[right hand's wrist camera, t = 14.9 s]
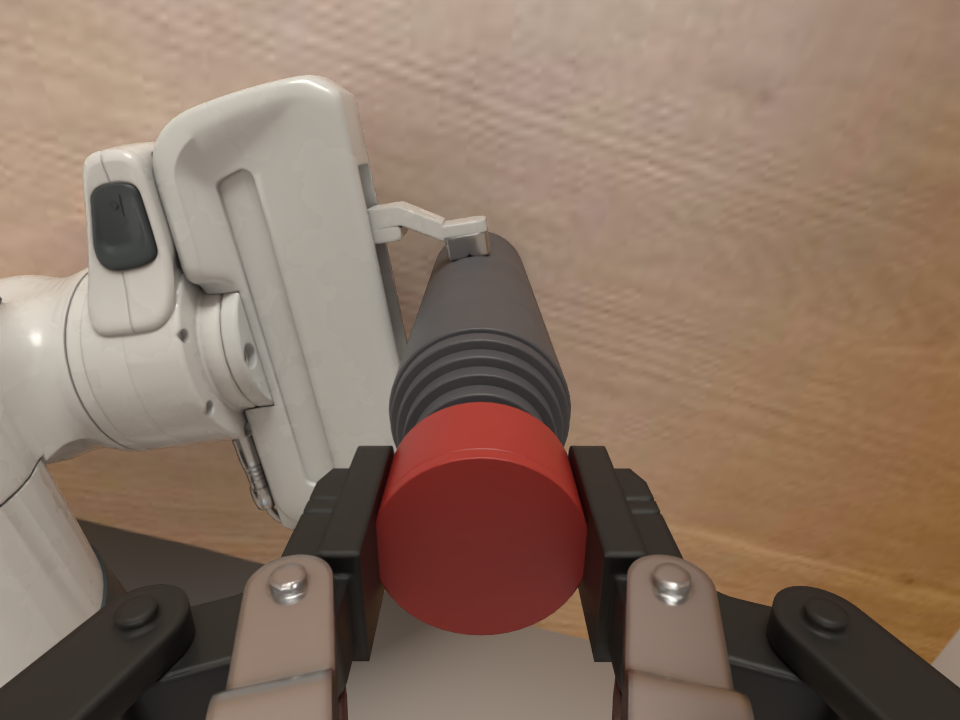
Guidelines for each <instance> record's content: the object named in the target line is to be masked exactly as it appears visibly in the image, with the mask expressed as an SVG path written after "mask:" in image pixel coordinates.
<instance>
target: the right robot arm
mask: <svg viewBox="0 0 960 720" xmlns="http://www.w3.org/2000/svg"><path fill="white" fill-rule="evenodd" d="M393 457H394V449H393V446H358V448H357V450H356V452H355V455H354V457H353V460H352V462H351V465H350V467H349V468H333V469H332V470H331V471H329V472H328V473H327V474H326V475H325V476H323V477H322V478H321V479H320V480H319V481H317V483H316V485H315V487H314V489H313V491H312V493H311V496H310V500H309V501H308V502H307V504H306V506H305V508H304V510H303V514H301V517H300V519H299V521H298V523H297V525H296V527H295V529H294V531H293V533H292V535H291V538H290V540H289V542H288V544H287V546H286V548H285V550H284V552H283V554H282V556H281V558H279V559H276V560H274V561H271V562H269V563H268V564H266V565H264V566H262V567H261V568H260V569H258V570H257V571H256V572H255V573H254V574H253V575H252V576H251V577H250V579H249V580H248V581H247V583H246V585H245V588H244V591H243V593H240V594H238V595H235V596H232V597H228V598H225V599H221V600H216V601H212V602H208V603H204V604H200V605H195V606H191V607H190V603H189V599H188V596H187V594H186V593H185V592H184V591H183V590H182V589H180V588H178V587H176V586H172V585H164V584H160V585H151V586H145V587H141V588H138V589H135V590H132V591H130V592H127V593H125V594H123V595H121V596H119V597H117V598H116V599H114V600H112V601H111V602H109V603H108V604H107V605H105V606H104V607H102V608H101V609H100V610H99V611H97V612H96V613H95V614H94V615H92V616H91V617H90V618H89V619H87V620H86V621H85V622H83V623H82V624H81V625H80V626H78V627H77V628H76V629H75V630H73V631H72V632H71V633H69V634H68V635H67V636H66V637H64V638H63V639H62V640H61V641H59V642H58V643H57V644H56V645H54V646H53V647H52V648H50V649H49V650H48V651H47V652H45V653H44V654H43V655H42V656H40V657H39V658H38V659H36V660H35V661H34V662H33V663H31V664H30V665H29V666H28V667H26V668H25V669H24V670H22V671H21V672H20V673H19V674H17V675H16V676H15V677H14V678H12V679H11V680H10V681H9V682H7V683H6V684H5V685H3V686H2V687H1V688H0V720H348V710H347V693H346V683H347V680H348V676H349V672H350V668H351V664H352V661H369V660H370V655H371V650H372V646H373V640H374V636H375V631H376V627H377V622H378V617H379V612H380V608H381V603H382V598H383V594H384V589H385V588H384V587H383V585H382V583H381V581H380V570H379V558H378V545H377V533H376V518H377V515H378V511H379V507H380V504H381V500H382V496H383V493H384V489H385V486H386V482H387V478H388V475H389V471H390V468H391V464H392V460H393ZM568 458H569V461H570V465H571V468H572V472H573V476H574V479H575V483H576V487H577V490H578V494H579V497H580V501H581V505H582V508H583V512H584V516H585V519H586V523H587V537H586V549H585V561H584V573H583V579H582V581H581V583H580V585H579V586H578V589H579V594H580V598H581V603H582V607H583V612H584V616H585V621H586V626H587V630H588V635H589V639H590V644H591V648H592V653H593V657H594V662H612V665H613V669H614V673H615V684H614V692H613V710H612V720H960V688H959V687H958V686H957V685H955V684H954V683H953V682H951V681H950V680H949V679H948V678H946V677H945V676H944V675H943V674H941V673H940V672H939V671H938V670H936V669H935V668H934V667H932V666H931V665H930V664H929V663H927V662H926V661H925V660H924V659H922V658H921V657H920V656H918V655H917V654H916V653H915V652H913V651H912V650H911V649H910V648H908V647H907V646H906V645H905V644H903V643H902V642H901V641H899V640H898V639H897V638H896V637H894V636H893V635H892V634H891V633H889V632H888V631H887V630H885V629H884V628H883V627H882V626H880V625H879V624H878V623H877V622H875V621H874V620H873V619H871V618H870V617H869V616H868V615H866V614H865V613H864V612H863V611H861V610H860V609H859V608H857V607H856V606H855V605H853V604H852V603H850V602H849V601H847V600H845V599H844V598H842V597H840V596H838V595H836V594H833V593H831V592H828V591H825V590H822V589H818V588H814V587H808V586H793V587H788V588H785V589H783V590H781V591H780V592H778V593H777V595H776V596H775V597H774V601H773V605H772V607H770V606H766V605H762V604H757V603H753V602H749V601H745V600H741V599H737V598H733V597H730V596H727V595H725V594H722V593H720V592H718V591H716V588H715V585H714V583H713V581H712V580H711V579H710V577H709V576H708V575H707V574H706V573H705V572H704V571H703V570H702V569H700V568H699V567H698V566H696V565H694V564H692V563H691V562H689V561H686V560H684V559H683V557H682V555H681V553H680V551H679V549H678V547H677V545H676V543H675V541H674V539H673V537H672V535H671V533H670V530H669V528H668V526H667V524H666V522H665V520H664V518H663V516H662V514H660V510H659V508H658V506H657V504H656V502H655V501H654V498H653V495H652V493H651V491H650V489H649V487H648V485H647V483H646V482H645V481H644V480H643V479H642V478H640V477H639V476H638V475H637V474H636V473H634V472H633V471H632V470H631V469H614V467H613V465H612V462H611V460H610V457H609V455H608V453H607V450H606V448H605V447H604V446H570V448H569V454H568Z"/></svg>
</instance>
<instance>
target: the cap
mask: <svg viewBox="0 0 960 720" xmlns="http://www.w3.org/2000/svg"><path fill="white" fill-rule="evenodd" d="M376 533H377V545H378V558H379V570H380V581H381V583H382V585H383V587H384V588H385V590H386V591H387V592H388V594H389V595H390V596H391V597H392V599H393V600H394V601H395V602H396V603H397V604H398V605H399V606H400V607H402V608H403V609H404V610H405V611H407V612H408V613H409V614H411V615H412V616H414V617H415V618H417V619H419V620H421V621H423V622H425V623H427V624H429V625H431V626H434V627H437V628H439V629H442V630H446V631H450V632H454V633H460V634H467V635H495V634H502V633H508V632H512V631H516V630H520V629H522V628H525V627H528V626H531V625H533V624H535V623H537V622H539V621H541V620H543V619H545V618H546V617H548V616H549V615H551V614H552V613H554V612H555V611H556V610H558V609H559V608H560V607H561V606H562V605H564V604H565V603H566V601H567V600H568V599H569V598H570V597H571V596H572V595H573V593H574V592H575V590H576V589H577V588H578V586H579V585H580V583H581V581H582V579H583V573H584V561H585V549H586V537H587V523H586V519H585V516H584V512H583V508H582V505H581V501H580V497H579V494H578V490H577V487H576V483H575V479H574V476H573V472H572V468H571V465H570V461H569V458H568V455H567V453H566V451H565V449H564V447H563V445H562V443H561V442H560V441H559V439H558V438H557V436H556V435H555V434H554V433H553V432H552V431H551V430H550V429H549V428H548V427H547V426H546V425H545V424H543V423H542V422H541V421H540V420H538V419H537V418H535V417H533V416H532V415H530V414H528V413H526V412H524V411H522V410H519V409H517V408H514V407H511V406H507V405H504V404H498V403H491V402H471V403H464V404H458V405H454V406H451V407H448V408H444V409H442V410H440V411H438V412H435V413H433V414H431V415H430V416H428V417H426V418H425V419H423V420H422V421H420V422H419V423H418V424H417V425H416V426H414V427H413V428H412V429H411V430H410V431H409V432H408V434H407V435H406V436H405V437H404V439H403V440H402V441H401V443H400V444H399V446H398V448H397V450H396V452H395V454H394V457H393V460H392V464H391V468H390V471H389V475H388V478H387V482H386V486H385V489H384V493H383V496H382V500H381V504H380V507H379V511H378V515H377V518H376Z"/></svg>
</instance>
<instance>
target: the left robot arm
mask: <svg viewBox="0 0 960 720" xmlns="http://www.w3.org/2000/svg"><path fill="white" fill-rule="evenodd" d="M83 190H84V200H85V212H86V224H87V240H88V267H87V268H85V269H83V270H81V271H80V272H78V273H76V274H74V275H72V276H69V277H64V278H56V277H49V276H42V275H19V276H11V277H5V278H0V688H1V687H2V686H3V685H5V684H6V683H7V682H9V681H10V680H11V679H12V678H14V677H15V676H16V675H17V674H19V673H20V672H21V671H22V670H24V669H25V668H26V667H28V666H29V665H30V664H31V663H33V662H34V661H35V660H36V659H38V658H39V657H40V656H42V655H43V654H44V653H45V652H47V651H48V650H49V649H50V648H52V647H53V646H54V645H56V644H57V643H58V642H59V641H61V640H62V639H63V638H64V637H66V636H67V635H68V634H69V633H71V632H72V631H73V630H75V629H76V628H77V627H78V626H80V625H81V624H82V623H83V622H85V621H86V620H87V619H89V618H90V617H91V616H92V615H94V614H95V613H96V612H97V611H99V610H100V609H101V608H102V607H104V606H105V605H107V604H108V603H109V602H111V601H112V600H114V599H116V598H117V597H119V596H121V595H123V594H125V593H127V592H126V590H125V589H124V587H123V586H122V585H121V583H120V582H119V580H118V579H117V578H116V576H115V575H114V574H113V572H112V571H111V569H110V568H109V567H108V565H107V564H106V562H105V561H104V560H103V558H102V557H101V555H100V554H99V553H98V551H97V550H96V549H95V548H94V547H93V546H92V545H91V544H89V542H88V540H87V539H86V537H85V535H84V533H83V531H82V530H81V528H80V526H79V524H78V522H77V520H76V519H75V517H74V515H73V513H72V511H71V510H70V508H69V506H68V504H67V502H66V500H65V499H64V497H63V495H62V493H61V491H60V490H59V488H58V486H57V484H56V482H55V480H54V479H53V477H52V475H51V473H50V471H49V470H48V468H47V466H46V464H50V463H57V462H61V461H66V460H70V459H73V458H76V457H79V456H81V455H84V454H86V453H88V452H90V451H92V450H95V449H99V448H111V449H116V450H122V451H148V450H156V449H164V448H171V447H179V446H186V445H194V444H200V443H208V442H216V441H224V440H231V439H232V442H233V444H234V447H235V450H236V453H237V456H238V459H239V461H240V463H241V466H242V467H243V469H244V471H245V473H246V475H247V478H248V480H249V483H250V493H251V496H252V498H253V501H254V503H255V504H256V506H257V507H258V509H259V510H266V511H267V513H268V514H269V515H270V516H271V517H272V518H273V519H275V520H276V521H277V522H279V523H281V524H282V525H283V526H284V527H285V528H289V529H295V527H296V525H297V523H298V521H299V519H300V517H301V514H303V510H304V508H305V506H306V504H307V502H308V501H309V500H310V496H311V493H312V491H313V489H314V487H315V485H316V483H317V481H319V480H320V479H321V478H322V477H323V476H325V475H326V474H327V473H328V472H329V471H331V470H332V469H333V468H349V467H350V465H351V462H352V460H353V457H354V455H355V452H356V450H357V448H358V446H393V449H394V454H395V452H396V450H397V449H396V446H395V443H394V441H393V437H392V433H391V425H390V419H389V398H390V394H391V389H392V386H393V383H394V380H395V377H396V374H397V371H398V369H399V366H400V363H401V360H402V357H403V354H404V351H405V348H406V346H407V339H406V334H405V330H404V325H403V320H402V315H401V310H400V306H399V301H398V296H397V291H396V286H395V282H394V277H393V272H392V267H391V262H390V258H389V253H388V248H387V242H393V241H399V240H401V238H402V237H403V236H404V235H405V234H406V232H407V231H408V228H409V229H411V230H414V231H417V232H419V233H422V234H425V235H427V236H430V237H433V238H435V239H438V240H441V241H443V242H446V247H447V252H448V257H449V261H451V260H458V259H463V258H466V257H467V256H468V255H469V254H470V255H472V256H484V255H487V254H490V244H489V236H488V228H487V222H486V216H473V217H466V218H460V219H453V220H447V221H445V218H444V217H441V216H439V215H437V214H434V213H432V212H429V211H427V210H424V209H422V208H419V207H417V206H414V205H412V204H409V203H407V202H404V201H400V202H393V203H387V204H381V205H378V200H377V195H376V190H375V186H374V181H373V176H372V171H371V166H370V162H369V157H368V152H367V147H366V142H365V138H364V133H363V128H362V123H361V118H360V114H359V109H358V104H357V101H356V99H355V97H354V96H353V95H352V94H351V93H349V92H348V91H347V90H345V89H344V88H343V87H341V86H340V85H339V84H337V83H335V82H334V81H332V80H330V79H328V78H326V77H322V76H317V75H304V76H297V77H291V78H285V79H281V80H277V81H273V82H268V83H264V84H260V85H257V86H253V87H249V88H246V89H243V90H239V91H236V92H233V93H230V94H227V95H224V96H221V97H218V98H215V99H213V100H210V101H207V102H205V103H202V104H200V105H197V106H195V107H192V108H190V109H188V110H186V111H184V112H182V113H180V114H179V115H177V116H176V117H174V118H173V119H172V120H171V121H169V122H168V123H167V124H166V125H165V127H164V128H163V129H162V130H161V132H160V134H159V136H158V137H157V139H156V142H144V143H134V144H127V145H121V146H116V147H112V148H108V149H104V150H101V151H98V152H95V153H93V154H91V155H89V156H88V157H87V159H86V160H85V163H84V167H83ZM274 506H276V509H277V510H276V509H275V508H274Z"/></svg>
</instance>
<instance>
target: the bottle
mask: <svg viewBox="0 0 960 720" xmlns="http://www.w3.org/2000/svg"><path fill="white" fill-rule="evenodd" d="M488 236H489V244H490V254H487V255H484V256H472V255H470V254H469V255H468V256H467V257H466V258H463V259H458V260H451V261H449V257H448V252H447V247H446V246H445V247H444V248H443V249H442V251H441V252H440V254H439V255H438V257H437V260H436V262H435V265H434V268H433V271H432V274H431V277H430V280H429V282H428V285H427V288H426V291H425V294H424V297H423V300H422V303H421V305H420V308H419V311H418V314H417V317H416V320H415V323H414V326H413V328H412V331H411V334H410V337H409V340H408V343H407V346H406V348H405V351H404V354H403V357H402V360H401V363H400V366H399V369H398V371H397V374H396V377H395V380H394V383H393V386H392V389H391V394H390V398H389V419H390V425H391V433H392V437H393V441H394V443H395V446H396V449H397V448H398V446H399V444H400V443H401V441H402V440H403V439H404V437H405V436H406V435H407V434H408V432H409V431H410V430H411V429H412V428H413V427H414V426H416V425H417V424H418V423H419V422H420V421H422V420H423V419H425V418H426V417H428V416H430V415H431V414H433V413H435V412H438V411H440V410H442V409H444V408H448V407H451V406H454V405H458V404H464V403H471V402H491V403H498V404H504V405H507V406H511V407H514V408H517V409H519V410H522V411H524V412H526V413H528V414H530V415H532V416H533V417H535V418H537V419H538V420H540V421H541V422H542V423H543V424H545V425H546V426H547V427H548V428H549V429H550V430H551V431H552V432H553V433H554V434H555V435H556V436H557V438H558V439H559V441H560V442H561V443H562V445H563V447H564V445H565V442H566V439H567V436H568V431H569V422H570V414H571V403H570V395H569V391H568V387H567V384H566V381H565V378H564V375H563V373H562V370H561V367H560V365H559V362H558V359H557V356H556V354H555V351H554V348H553V345H552V343H551V340H550V337H549V334H548V332H547V329H546V326H545V323H544V321H543V318H542V315H541V313H540V310H539V307H538V304H537V302H536V299H535V296H534V293H533V291H532V288H531V285H530V282H529V280H528V277H527V274H526V272H525V269H524V266H523V263H522V261H521V258H520V256H519V254H518V253H517V251H516V250H515V248H514V247H513V246H512V245H511V244H510V243H509V242H508V241H506V240H505V239H504V238H502V237H500V236H498V235H496V234H493V233H489V232H488Z"/></svg>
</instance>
